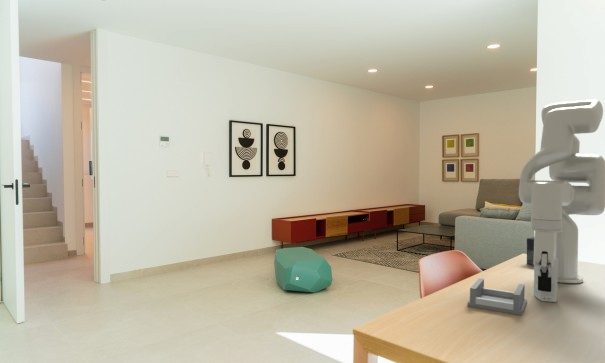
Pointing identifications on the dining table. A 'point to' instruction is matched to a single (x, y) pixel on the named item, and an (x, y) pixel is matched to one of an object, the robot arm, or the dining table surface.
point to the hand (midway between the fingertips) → (545, 287)
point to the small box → (530, 251)
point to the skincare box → (553, 274)
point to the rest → (497, 298)
